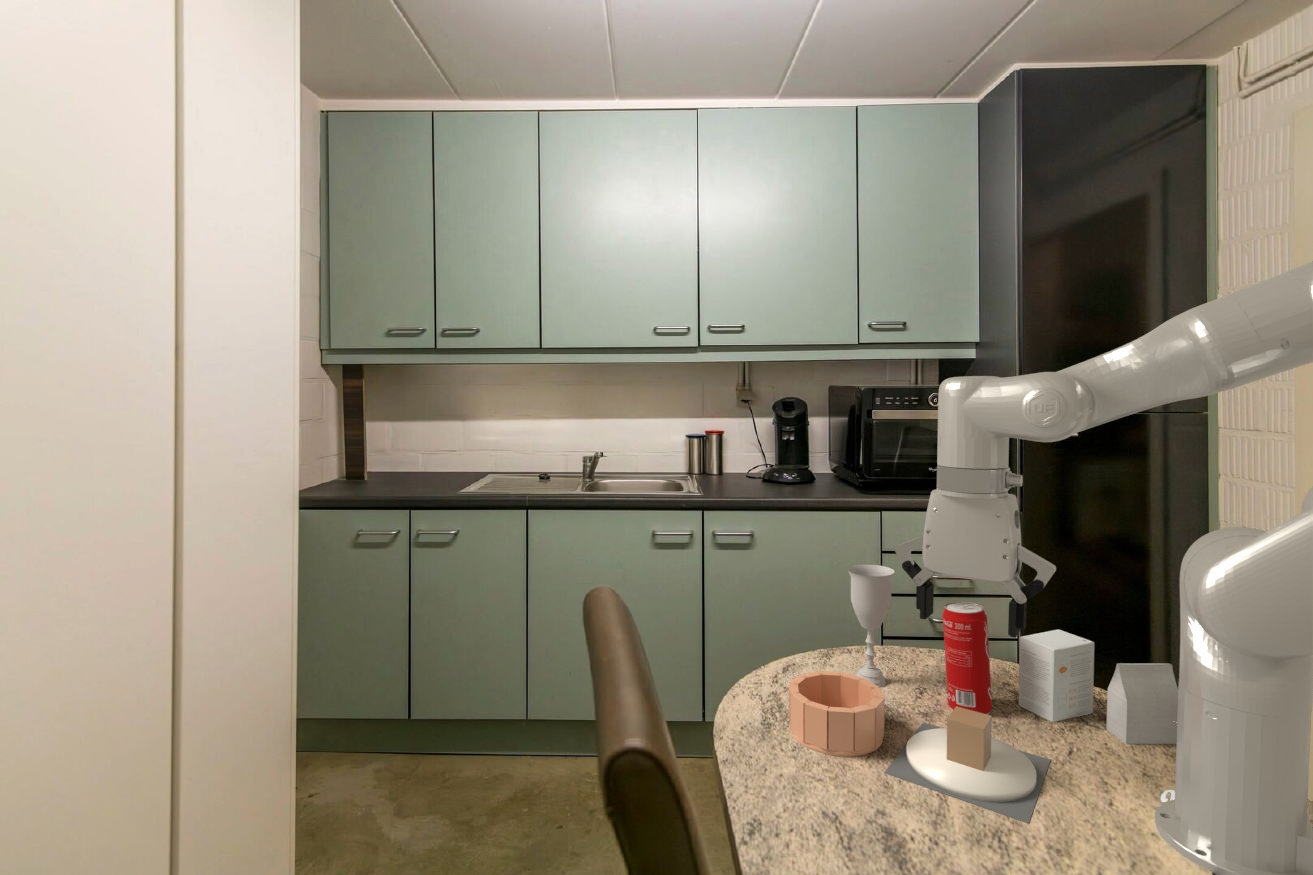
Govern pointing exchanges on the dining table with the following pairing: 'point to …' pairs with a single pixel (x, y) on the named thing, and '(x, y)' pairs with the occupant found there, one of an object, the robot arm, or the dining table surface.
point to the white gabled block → (1143, 703)
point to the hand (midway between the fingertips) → (968, 624)
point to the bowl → (836, 713)
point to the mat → (1012, 809)
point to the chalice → (871, 609)
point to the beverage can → (967, 657)
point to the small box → (1056, 675)
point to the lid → (971, 760)
